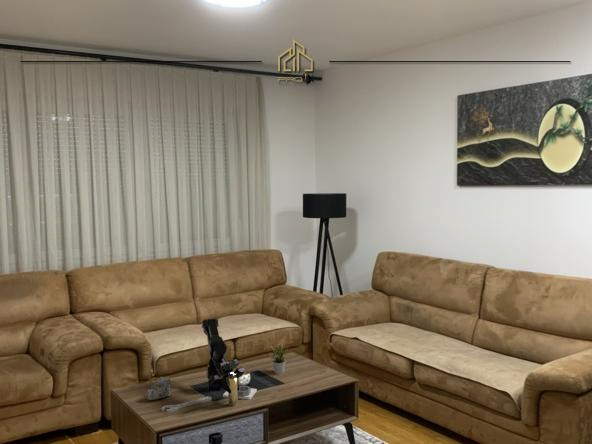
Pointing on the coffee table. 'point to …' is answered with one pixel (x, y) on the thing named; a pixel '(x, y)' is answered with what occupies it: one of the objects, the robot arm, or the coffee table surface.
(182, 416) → the coffee table surface
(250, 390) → the pipe plate
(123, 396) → the coffee table surface
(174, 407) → the adjustable wrench
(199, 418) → the coffee table surface
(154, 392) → the mineral rock
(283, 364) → the house plant
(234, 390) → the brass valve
